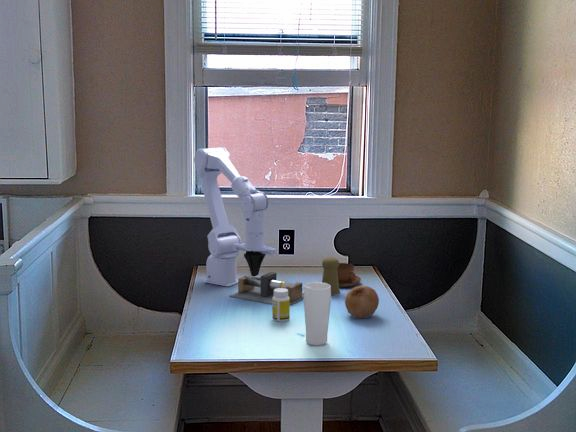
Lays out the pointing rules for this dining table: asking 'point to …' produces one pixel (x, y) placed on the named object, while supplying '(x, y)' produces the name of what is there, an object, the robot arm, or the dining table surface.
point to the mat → (258, 296)
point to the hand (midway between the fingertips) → (254, 275)
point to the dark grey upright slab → (264, 283)
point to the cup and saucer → (347, 275)
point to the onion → (361, 301)
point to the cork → (331, 274)
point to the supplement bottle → (280, 305)
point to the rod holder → (270, 286)
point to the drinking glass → (317, 312)
